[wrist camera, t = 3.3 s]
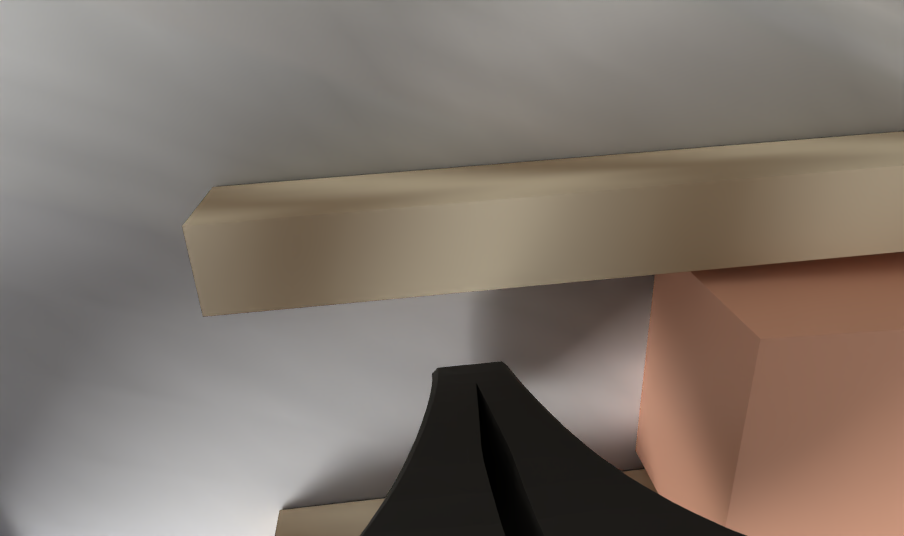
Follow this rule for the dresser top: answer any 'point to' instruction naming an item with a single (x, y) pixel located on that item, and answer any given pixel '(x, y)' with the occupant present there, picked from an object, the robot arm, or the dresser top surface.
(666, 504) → the robot arm
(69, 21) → the dresser top surface
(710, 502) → the block
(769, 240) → the chute
